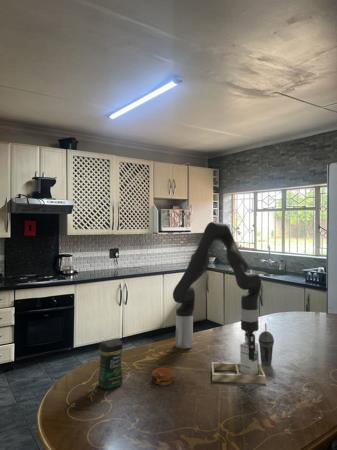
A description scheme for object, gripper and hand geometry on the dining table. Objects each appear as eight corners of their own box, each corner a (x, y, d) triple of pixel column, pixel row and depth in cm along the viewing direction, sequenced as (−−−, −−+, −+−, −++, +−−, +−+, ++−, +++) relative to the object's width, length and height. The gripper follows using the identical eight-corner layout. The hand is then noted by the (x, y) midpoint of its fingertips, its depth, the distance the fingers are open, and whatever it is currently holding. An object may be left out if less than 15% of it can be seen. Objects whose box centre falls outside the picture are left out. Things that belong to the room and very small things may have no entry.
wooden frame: (212, 381, 146) (212, 374, 146) (211, 368, 159) (211, 362, 159) (265, 383, 144) (265, 376, 144) (260, 370, 157) (260, 364, 157)
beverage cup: (275, 363, 166) (275, 321, 166) (273, 368, 159) (272, 325, 160) (259, 360, 169) (259, 319, 169) (257, 366, 163) (256, 323, 163)
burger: (172, 375, 153) (172, 364, 153) (176, 384, 144) (176, 373, 144) (149, 377, 151) (149, 366, 151) (153, 387, 142) (153, 375, 142)
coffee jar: (104, 392, 137) (104, 345, 137) (95, 384, 143) (95, 340, 143) (125, 385, 143) (125, 340, 143) (116, 378, 149) (116, 335, 149)
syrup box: (251, 380, 147) (251, 346, 147) (240, 376, 152) (239, 342, 152) (259, 376, 151) (259, 343, 151) (247, 372, 155) (247, 340, 156)
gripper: (239, 314, 159) (239, 350, 159) (242, 322, 145) (243, 361, 145) (255, 314, 158) (256, 350, 158) (261, 323, 144) (261, 362, 144)
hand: (250, 355), depth 151 cm, fingers open, 8 cm apart
